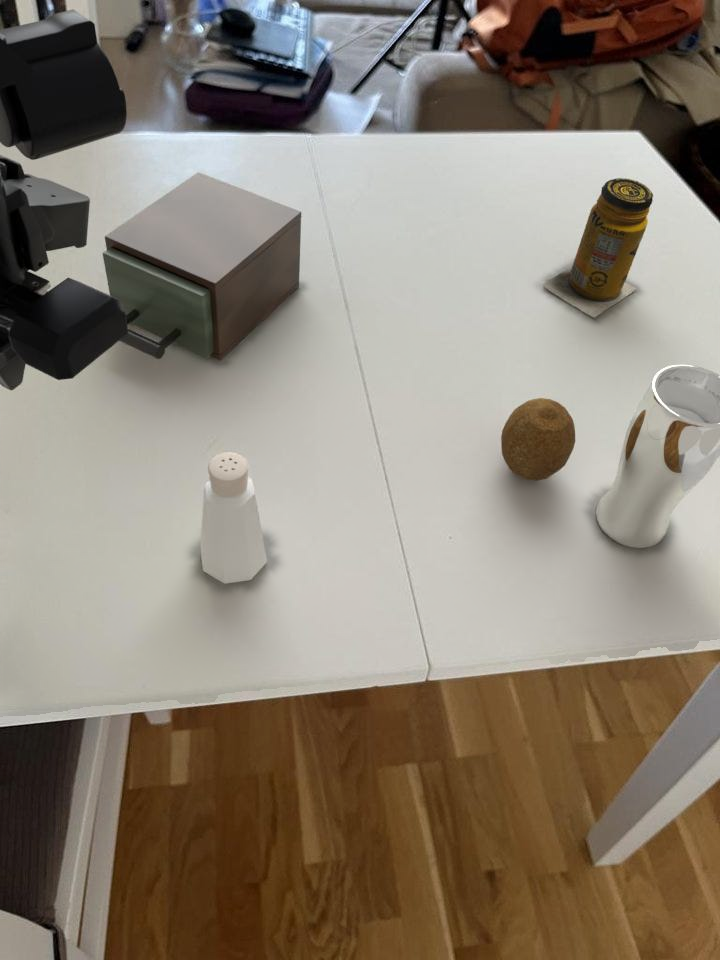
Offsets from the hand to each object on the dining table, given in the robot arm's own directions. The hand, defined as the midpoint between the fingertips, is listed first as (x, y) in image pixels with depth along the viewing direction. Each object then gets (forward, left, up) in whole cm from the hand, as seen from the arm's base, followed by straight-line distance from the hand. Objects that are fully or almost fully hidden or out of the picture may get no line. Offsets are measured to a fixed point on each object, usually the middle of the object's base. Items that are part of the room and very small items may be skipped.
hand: (12, 385), depth 58 cm
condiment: (+58, +22, -13) cm, 63 cm away
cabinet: (+16, +25, -13) cm, 32 cm away
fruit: (+41, -3, -13) cm, 43 cm away
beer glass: (+48, -10, -13) cm, 51 cm away
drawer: (+13, +22, -12) cm, 29 cm away
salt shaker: (+14, -8, -13) cm, 21 cm away
